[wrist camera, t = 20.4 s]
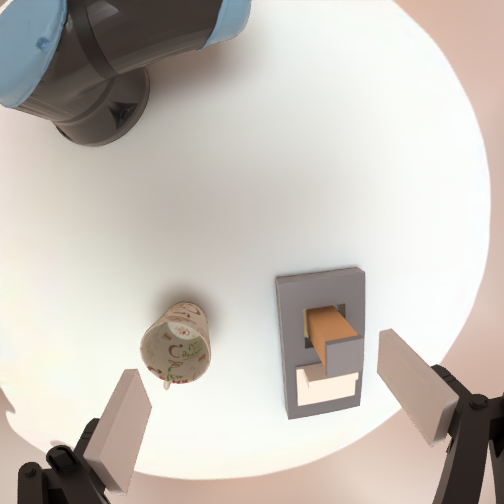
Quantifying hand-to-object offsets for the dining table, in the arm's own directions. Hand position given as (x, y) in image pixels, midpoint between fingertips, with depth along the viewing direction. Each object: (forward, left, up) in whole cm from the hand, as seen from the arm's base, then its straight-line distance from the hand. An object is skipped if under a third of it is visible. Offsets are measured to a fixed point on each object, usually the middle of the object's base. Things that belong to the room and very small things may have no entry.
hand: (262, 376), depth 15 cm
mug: (+10, -10, -28) cm, 31 cm away
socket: (+14, +10, -28) cm, 33 cm away
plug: (+10, +10, -28) cm, 31 cm away
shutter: (+19, +10, -25) cm, 32 cm away
